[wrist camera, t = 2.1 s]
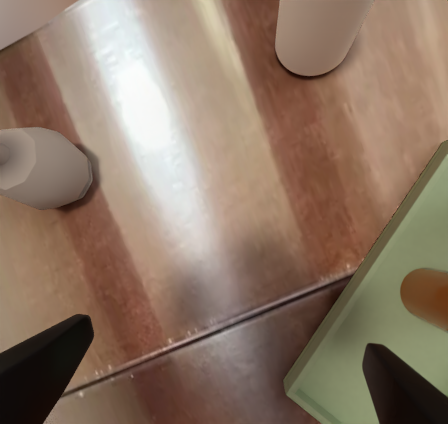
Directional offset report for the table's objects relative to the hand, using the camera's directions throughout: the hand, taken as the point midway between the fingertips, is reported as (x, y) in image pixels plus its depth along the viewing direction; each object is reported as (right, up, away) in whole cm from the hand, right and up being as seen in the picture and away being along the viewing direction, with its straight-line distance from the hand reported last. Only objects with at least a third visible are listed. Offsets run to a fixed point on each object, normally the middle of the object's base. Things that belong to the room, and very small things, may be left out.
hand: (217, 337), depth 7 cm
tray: (+19, -4, +14) cm, 24 cm away
